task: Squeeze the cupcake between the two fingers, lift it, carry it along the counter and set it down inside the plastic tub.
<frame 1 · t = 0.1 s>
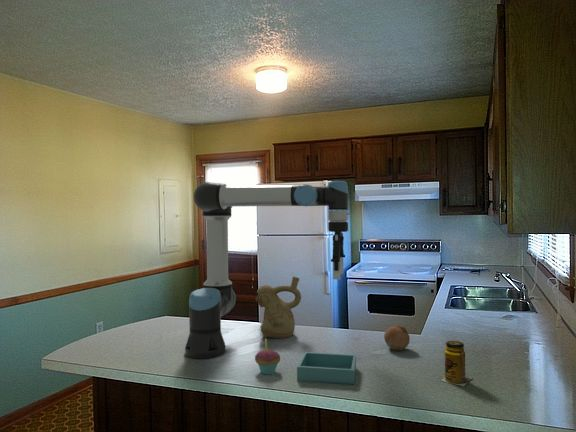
hand: (338, 276, 174), 28 cm above the countertop, fingers open, 13 cm apart
cupcake: (267, 372, 151), on the countertop
tub: (327, 374, 148), on the countertop
condiment: (456, 380, 142), on the countertop
onion: (396, 349, 173), on the countertop
ceramic vessel: (278, 335, 194), on the countertop
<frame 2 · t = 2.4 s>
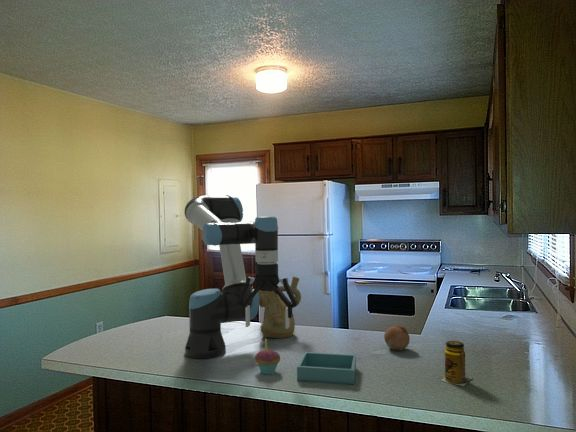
hand: (267, 326, 150), 15 cm above the countertop, fingers open, 13 cm apart
nothing on the countertop moved.
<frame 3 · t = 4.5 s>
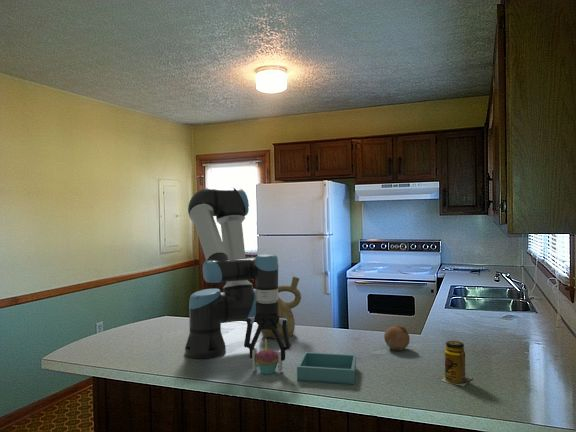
hand: (267, 369, 151), 1 cm above the countertop, fingers closed on cupcake, 8 cm apart
cupcake: (267, 372, 151), on the countertop, touching gripper
everything else where it was.
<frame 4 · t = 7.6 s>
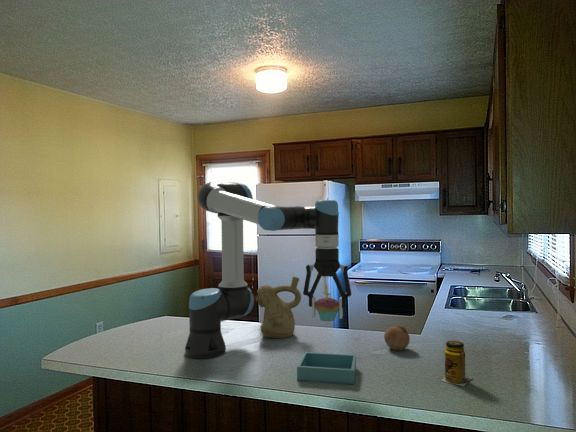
hand: (327, 317, 147), 19 cm above the countertop, fingers closed on cupcake, 8 cm apart
cupcake: (327, 320, 147), point 18 cm above the countertop, touching gripper
everything else where it was.
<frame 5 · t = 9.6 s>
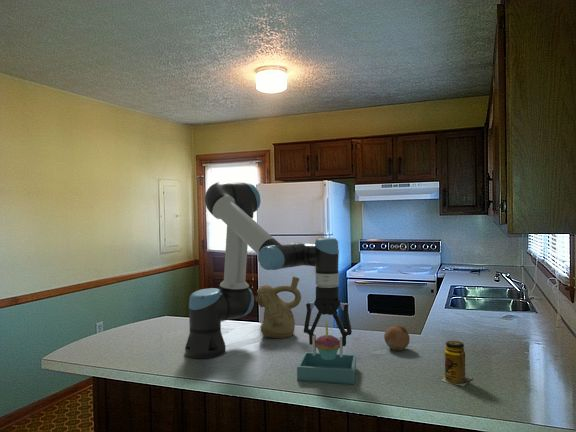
hand: (327, 355, 147), 6 cm above the countertop, fingers closed on cupcake, 8 cm apart
cupcake: (327, 358, 147), point 5 cm above the countertop, touching gripper
everything else where it was.
when the fingers open (4 cm above the countertop, at t = 11.0 s): cupcake drops 3 cm, resting on tub.
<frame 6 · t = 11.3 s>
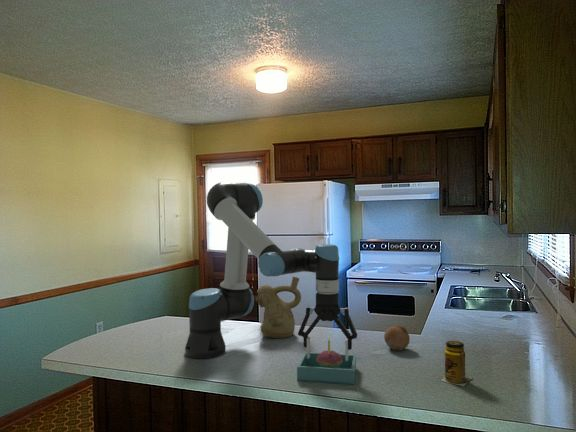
hand: (327, 358, 147), 5 cm above the countertop, fingers open, 12 cm apart
cupcake: (329, 373, 147), resting on tub
everything else where it was.
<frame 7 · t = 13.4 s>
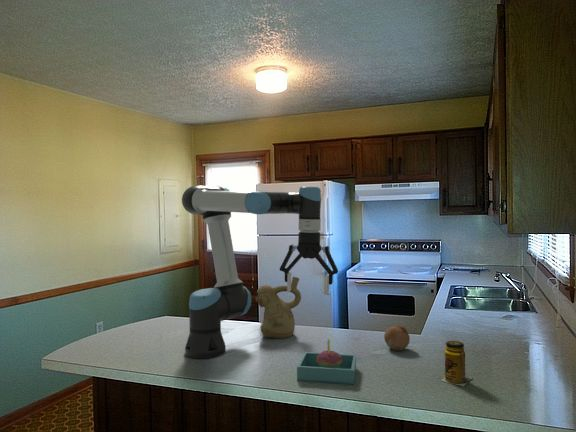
hand: (308, 292, 157), 25 cm above the countertop, fingers open, 13 cm apart
nothing on the countertop moved.
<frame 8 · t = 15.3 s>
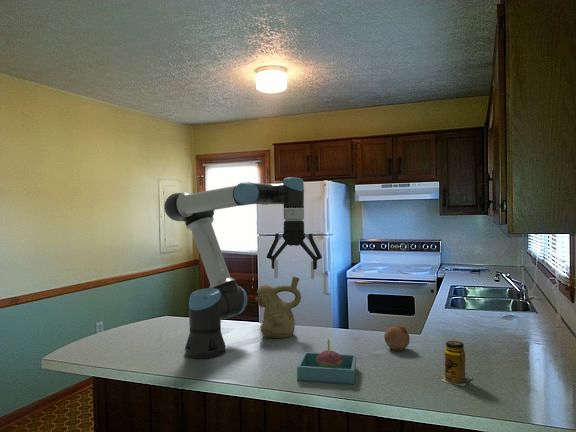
hand: (294, 278, 166), 29 cm above the countertop, fingers open, 13 cm apart
nothing on the countertop moved.
at the end: cupcake inside the target area on the tub (0.5 cm from its centre), point 0.3 cm above the tub's base; cupcake tilted 0°; the gripper is holding nothing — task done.
